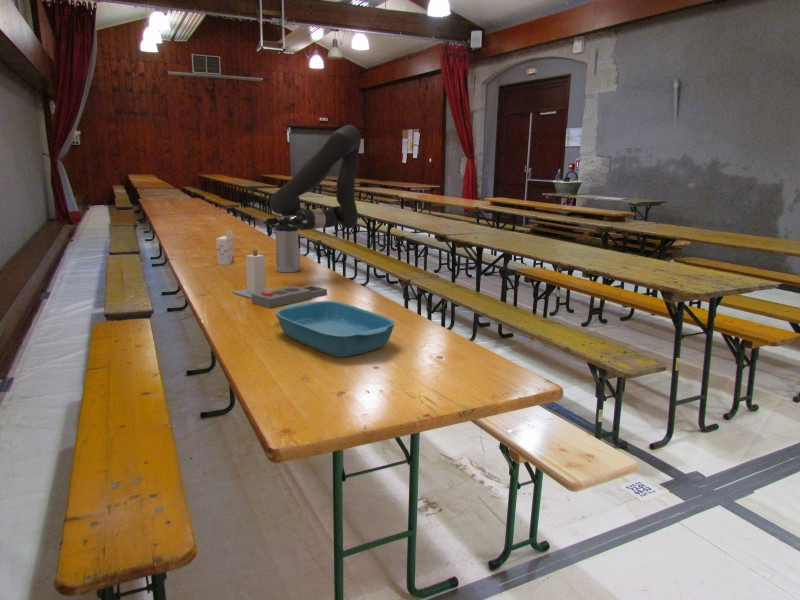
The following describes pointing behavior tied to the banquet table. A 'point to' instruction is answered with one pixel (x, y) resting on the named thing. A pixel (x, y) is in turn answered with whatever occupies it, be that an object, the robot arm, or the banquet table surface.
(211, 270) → the banquet table surface
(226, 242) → the ink cartridge box
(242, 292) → the rubber mat
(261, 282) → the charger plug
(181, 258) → the banquet table surface
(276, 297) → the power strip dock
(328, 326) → the casserole dish
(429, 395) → the banquet table surface
